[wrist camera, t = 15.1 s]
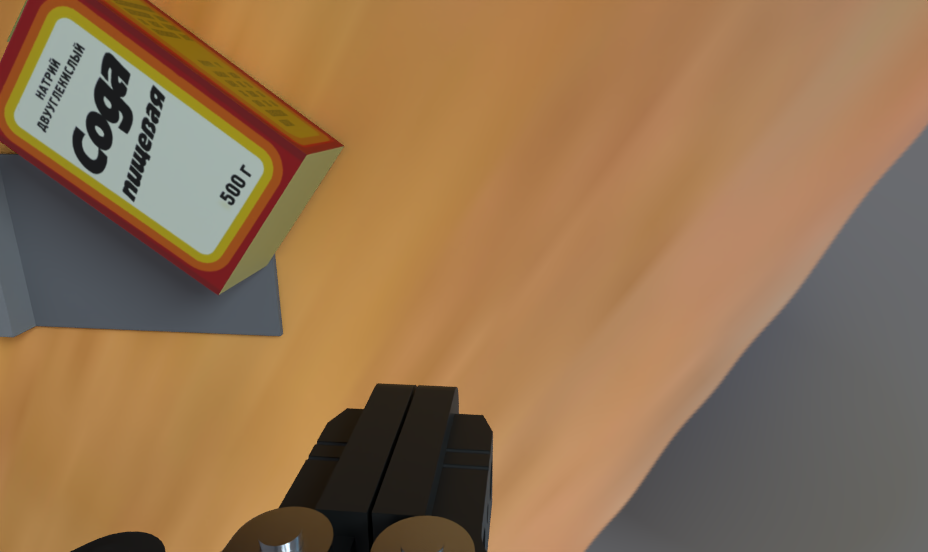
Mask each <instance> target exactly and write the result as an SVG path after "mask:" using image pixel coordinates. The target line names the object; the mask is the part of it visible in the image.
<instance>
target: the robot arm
mask: <svg viewBox="0 0 928 552" xmlns="http://www.w3.org/2000/svg"><path fill="white" fill-rule="evenodd" d="M492 459H493V431H492V430H491V428H490V426H489V425H488V423H487V421H486V419H485V418H484V416H483V415H469V414H459V399H458V388H457V387H445V386H424V385H418V387H417V386H416V385H400V384H379V383H378V384H377V385H376V386H375V388H374V390H373V392H372V394H371V396H370V398H369V400H368V402H367V404H366V406H365V408H364V409H350V408H347V409H346V410H344V411H343V412H342V413H340V414H339V415H338V416H336V417H335V418H334V419H332V420H331V421H330V422H328V423H327V425H326V427H325V428H324V430H323V432H322V433H321V435H320V437H319V439H318V440H317V444H315V446H314V447H313V449H312V451H311V453H310V454H309V459H308V460H306V461H305V463H304V465H303V467H302V468H301V470H300V472H299V474H298V475H297V477H296V479H295V481H294V482H293V484H292V486H291V487H290V489H289V491H288V493H287V494H286V496H285V498H284V500H283V501H282V503H281V505H280V507H279V508H278V509H274V510H271V511H268V512H265V513H263V514H260V515H258V516H256V517H254V518H253V519H251V520H250V521H248V522H247V523H245V524H244V525H243V526H242V527H241V528H240V529H239V530H238V531H237V532H236V533H235V534H234V536H233V537H232V538H231V540H230V541H229V543H228V544H227V545H226V547H225V548H224V549H223V551H221V552H487V549H488V539H489V528H490V518H491V508H492ZM71 552H165V547H164V545H163V543H162V541H160V540H159V539H158V538H157V537H155V536H153V535H151V534H148V533H144V532H123V533H117V534H112V535H108V536H105V537H102V538H99V539H97V540H94V541H92V542H90V543H87V544H85V545H83V546H81V547H79V548H77V549H75V550H73V551H71Z"/></svg>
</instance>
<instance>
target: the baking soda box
mask: <svg viewBox="0 0 928 552" xmlns="http://www.w3.org/2000/svg"><path fill="white" fill-rule="evenodd" d="M7 42H9V44H8V46H7V48H6V50H5V53H4V55H3V57H2V59H1V62H0V142H2V143H3V144H5V145H6V146H7V147H9V148H10V149H12V150H13V151H14V152H16V153H17V154H19V155H20V156H22V157H23V158H24V159H26V160H27V161H29V162H30V163H31V164H33V165H34V166H36V167H37V168H39V169H40V170H41V171H43V172H44V173H46V174H47V175H48V176H50V177H51V178H53V179H54V180H56V181H57V182H58V183H60V184H61V185H63V186H64V187H65V188H67V189H68V190H70V191H71V192H73V193H74V194H75V195H77V196H78V197H80V198H81V199H82V200H84V201H85V202H87V203H88V204H90V205H91V206H92V207H94V208H95V209H97V210H98V211H99V212H101V213H102V214H104V215H105V216H107V217H108V218H109V219H111V220H112V221H114V222H115V223H116V224H118V225H119V226H121V227H122V228H124V229H125V230H126V231H128V232H129V233H131V234H132V235H133V236H135V237H136V238H138V239H139V240H141V241H142V242H143V243H145V244H146V245H148V246H149V247H150V248H152V249H153V250H155V251H156V252H158V253H159V254H160V255H162V256H163V257H165V258H166V259H167V260H169V261H170V262H172V263H173V264H175V265H176V266H177V267H179V268H180V269H182V270H183V271H184V272H186V273H187V274H189V275H190V276H192V277H193V278H194V279H196V280H197V281H199V282H200V283H201V284H203V285H204V286H206V287H207V288H208V289H210V290H211V291H213V292H214V293H216V294H217V295H220V294H221V293H223V292H225V291H226V290H228V289H229V288H231V287H233V286H234V285H236V284H238V283H239V282H241V281H243V280H244V279H246V278H247V277H249V276H251V275H252V274H254V273H256V272H257V271H259V270H260V269H262V268H264V267H265V266H267V265H268V263H269V262H270V260H271V258H272V257H273V255H274V254H275V252H276V251H277V249H278V248H279V246H280V245H281V243H282V241H283V240H284V238H285V237H286V235H287V234H288V232H289V231H290V229H291V228H292V226H293V225H294V223H295V221H296V220H297V218H298V217H299V215H300V214H301V212H302V211H303V209H304V208H305V206H306V204H307V203H308V201H309V200H310V198H311V197H312V195H313V194H314V192H315V191H316V189H317V188H318V186H319V184H320V183H321V181H322V180H323V178H324V177H325V175H326V174H327V172H328V171H329V169H330V167H331V166H332V164H333V163H334V161H335V160H336V158H337V157H338V155H339V154H340V152H341V151H342V149H343V147H344V145H342V144H341V143H339V142H338V141H337V140H335V139H334V138H333V137H331V136H330V135H329V134H327V133H326V132H325V131H323V130H322V129H321V128H319V127H318V126H317V125H315V124H314V123H312V122H311V121H310V120H308V119H307V118H306V117H304V116H303V115H302V114H300V113H299V112H298V111H296V110H295V109H294V108H292V107H291V106H290V105H288V104H287V103H285V102H284V101H283V100H281V99H280V98H279V97H277V96H276V95H275V94H273V93H272V92H271V91H269V90H268V89H267V88H265V87H264V86H263V85H261V84H260V83H258V82H257V81H256V80H254V79H253V78H252V77H250V76H249V75H248V74H246V73H245V72H244V71H242V70H241V69H240V68H238V67H237V66H236V65H234V64H233V63H231V62H230V61H229V60H227V59H226V58H225V57H223V56H222V55H221V54H219V53H218V52H217V51H215V50H214V49H213V48H211V47H210V46H209V45H207V44H206V43H204V42H203V41H202V40H200V39H199V38H198V37H196V36H195V35H194V34H192V33H191V32H190V31H188V30H187V29H186V28H184V27H183V26H181V25H180V24H179V23H177V22H176V21H175V20H173V19H172V18H171V17H169V16H168V15H167V14H165V13H164V12H163V11H161V10H160V9H159V8H157V7H156V6H154V5H153V4H152V3H150V2H149V1H148V0H26V2H25V4H24V6H23V8H22V11H21V13H20V15H19V17H18V19H17V21H16V23H15V25H14V27H13V30H12V32H11V34H10V36H9V38H8V40H7Z"/></svg>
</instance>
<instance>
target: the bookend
mask: <svg viewBox="0 0 928 552" xmlns="http://www.w3.org/2000/svg"><path fill="white" fill-rule="evenodd" d="M35 326H51V327H75V328H99V329H123V330H147V331H171V332H195V333H219V334H243V335H267V336H281V335H282V334H283V329H282V319H281V309H280V299H279V289H278V279H277V269H276V259H275V254H274V255H273V257H272V258H271V260H270V262H269V263H268V265H267V266H265V267H264V268H262V269H260V270H259V271H257V272H256V273H254V274H252V275H251V276H249V277H247V278H246V279H244V280H243V281H241V282H239V283H238V284H236V285H234V286H233V287H231V288H229V289H228V290H226V291H225V292H223V293H221V294H220V295H217V294H216V293H214V292H213V291H211V290H210V289H208V288H207V287H206V286H204V285H203V284H201V283H200V282H199V281H197V280H196V279H194V278H193V277H192V276H190V275H189V274H187V273H186V272H184V271H183V270H182V269H180V268H179V267H177V266H176V265H175V264H173V263H172V262H170V261H169V260H167V259H166V258H165V257H163V256H162V255H160V254H159V253H158V252H156V251H155V250H153V249H152V248H150V247H149V246H148V245H146V244H145V243H143V242H142V241H141V240H139V239H138V238H136V237H135V236H133V235H132V234H131V233H129V232H128V231H126V230H125V229H124V228H122V227H121V226H119V225H118V224H116V223H115V222H114V221H112V220H111V219H109V218H108V217H107V216H105V215H104V214H102V213H101V212H99V211H98V210H97V209H95V208H94V207H92V206H91V205H90V204H88V203H87V202H85V201H84V200H82V199H81V198H80V197H78V196H77V195H75V194H74V193H73V192H71V191H70V190H68V189H67V188H65V187H64V186H63V185H61V184H60V183H58V182H57V181H56V180H54V179H53V178H51V177H50V176H48V175H47V174H46V173H44V172H43V171H41V170H40V169H39V168H37V167H36V166H34V165H33V164H31V163H30V162H29V161H27V160H26V159H24V158H23V157H22V156H20V155H19V154H0V337H15V336H17V335H19V334H21V333H23V332H25V331H27V330H29V329H31V328H33V327H35Z"/></svg>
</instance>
